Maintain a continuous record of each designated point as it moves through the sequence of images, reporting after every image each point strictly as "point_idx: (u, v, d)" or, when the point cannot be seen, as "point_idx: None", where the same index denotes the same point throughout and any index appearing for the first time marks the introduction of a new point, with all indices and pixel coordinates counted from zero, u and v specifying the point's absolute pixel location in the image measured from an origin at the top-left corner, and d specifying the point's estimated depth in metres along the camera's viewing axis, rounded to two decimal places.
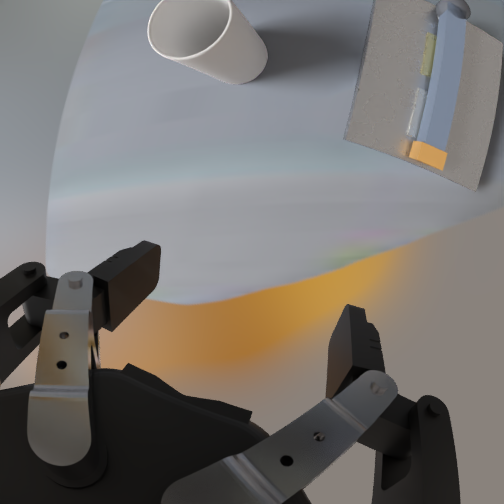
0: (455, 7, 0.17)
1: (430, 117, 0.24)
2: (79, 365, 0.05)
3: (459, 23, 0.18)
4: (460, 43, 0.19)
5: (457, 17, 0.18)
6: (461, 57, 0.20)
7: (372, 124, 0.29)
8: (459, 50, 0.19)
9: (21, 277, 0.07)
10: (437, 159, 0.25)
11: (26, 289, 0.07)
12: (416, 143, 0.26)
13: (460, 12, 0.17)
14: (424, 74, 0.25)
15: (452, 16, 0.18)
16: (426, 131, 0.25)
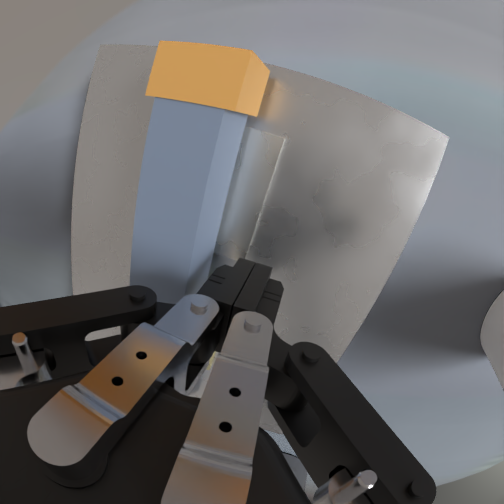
0: None
1: (206, 195, 0.10)
2: (133, 391, 0.05)
3: None
4: None
5: None
6: None
7: (380, 167, 0.11)
8: None
9: (123, 300, 0.08)
10: (176, 66, 0.08)
11: (120, 316, 0.08)
12: (250, 107, 0.09)
13: None
14: None
15: None
16: (218, 148, 0.09)
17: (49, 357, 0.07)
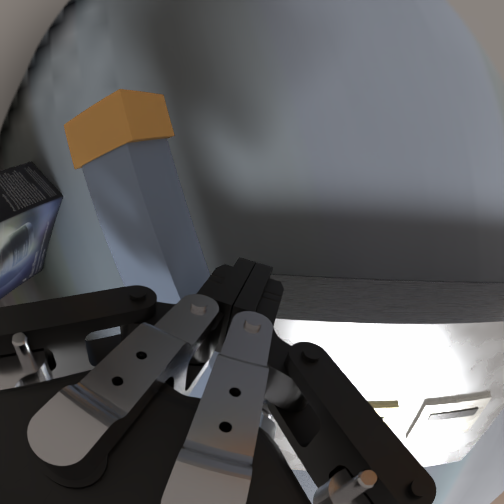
0: None
1: (154, 217, 0.10)
2: (133, 391, 0.05)
3: None
4: None
5: None
6: None
7: (450, 452, 0.18)
8: None
9: (123, 300, 0.08)
10: (82, 135, 0.09)
11: (120, 316, 0.08)
12: (156, 130, 0.10)
13: None
14: None
15: None
16: (142, 175, 0.10)
17: (49, 357, 0.07)
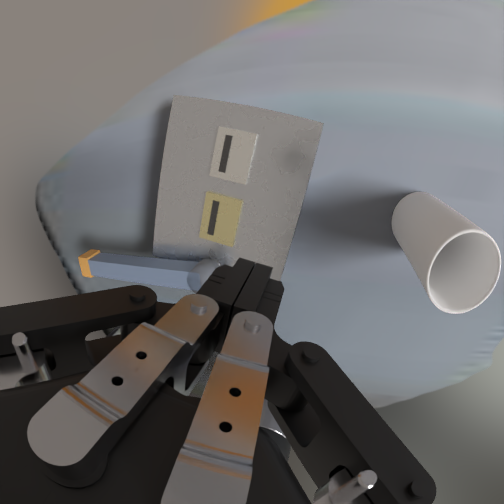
0: (197, 280, 0.36)
1: (102, 261, 0.39)
2: (133, 391, 0.05)
3: (181, 283, 0.36)
4: (163, 282, 0.37)
5: (186, 281, 0.36)
6: (152, 283, 0.38)
7: (295, 140, 0.31)
8: (156, 281, 0.37)
9: (123, 300, 0.08)
10: (85, 271, 0.40)
11: (120, 316, 0.08)
12: (92, 253, 0.41)
13: (194, 284, 0.36)
14: (239, 199, 0.35)
15: (184, 276, 0.36)
16: (95, 259, 0.39)
17: (49, 357, 0.07)
